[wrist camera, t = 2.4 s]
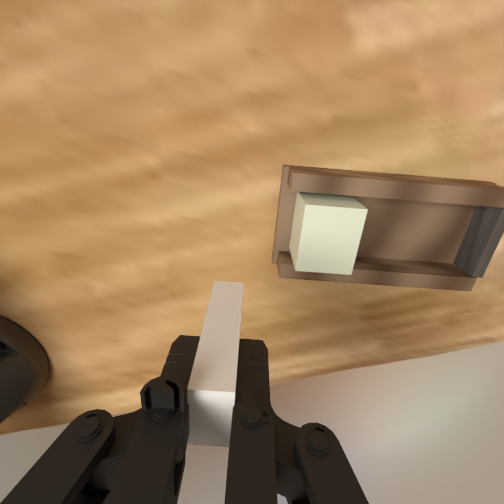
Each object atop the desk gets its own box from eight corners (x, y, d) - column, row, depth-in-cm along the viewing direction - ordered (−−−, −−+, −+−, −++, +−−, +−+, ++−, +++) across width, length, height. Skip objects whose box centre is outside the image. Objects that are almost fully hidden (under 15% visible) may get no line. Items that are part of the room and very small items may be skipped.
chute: (271, 258, 32) (274, 277, 29) (283, 164, 28) (287, 172, 25) (451, 272, 33) (475, 291, 29) (488, 181, 29) (522, 191, 25)
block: (288, 247, 31) (295, 270, 26) (297, 189, 28) (305, 204, 24) (337, 251, 31) (351, 274, 26) (349, 193, 28) (367, 209, 24)
